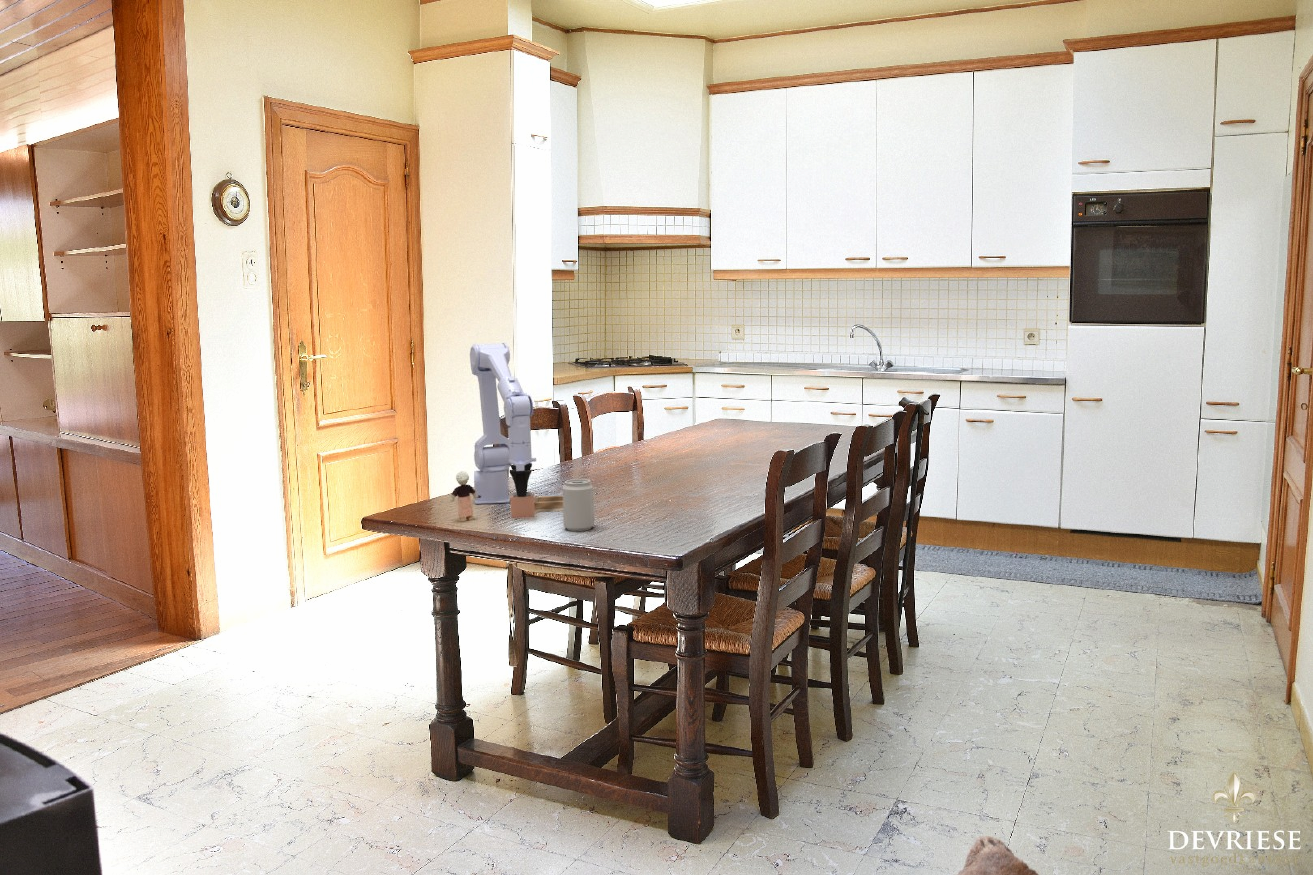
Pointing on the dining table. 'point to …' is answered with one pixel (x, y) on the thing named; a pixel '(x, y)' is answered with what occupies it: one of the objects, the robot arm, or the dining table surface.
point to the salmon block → (522, 506)
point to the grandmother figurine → (464, 497)
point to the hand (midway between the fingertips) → (522, 493)
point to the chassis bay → (548, 503)
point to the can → (578, 505)
